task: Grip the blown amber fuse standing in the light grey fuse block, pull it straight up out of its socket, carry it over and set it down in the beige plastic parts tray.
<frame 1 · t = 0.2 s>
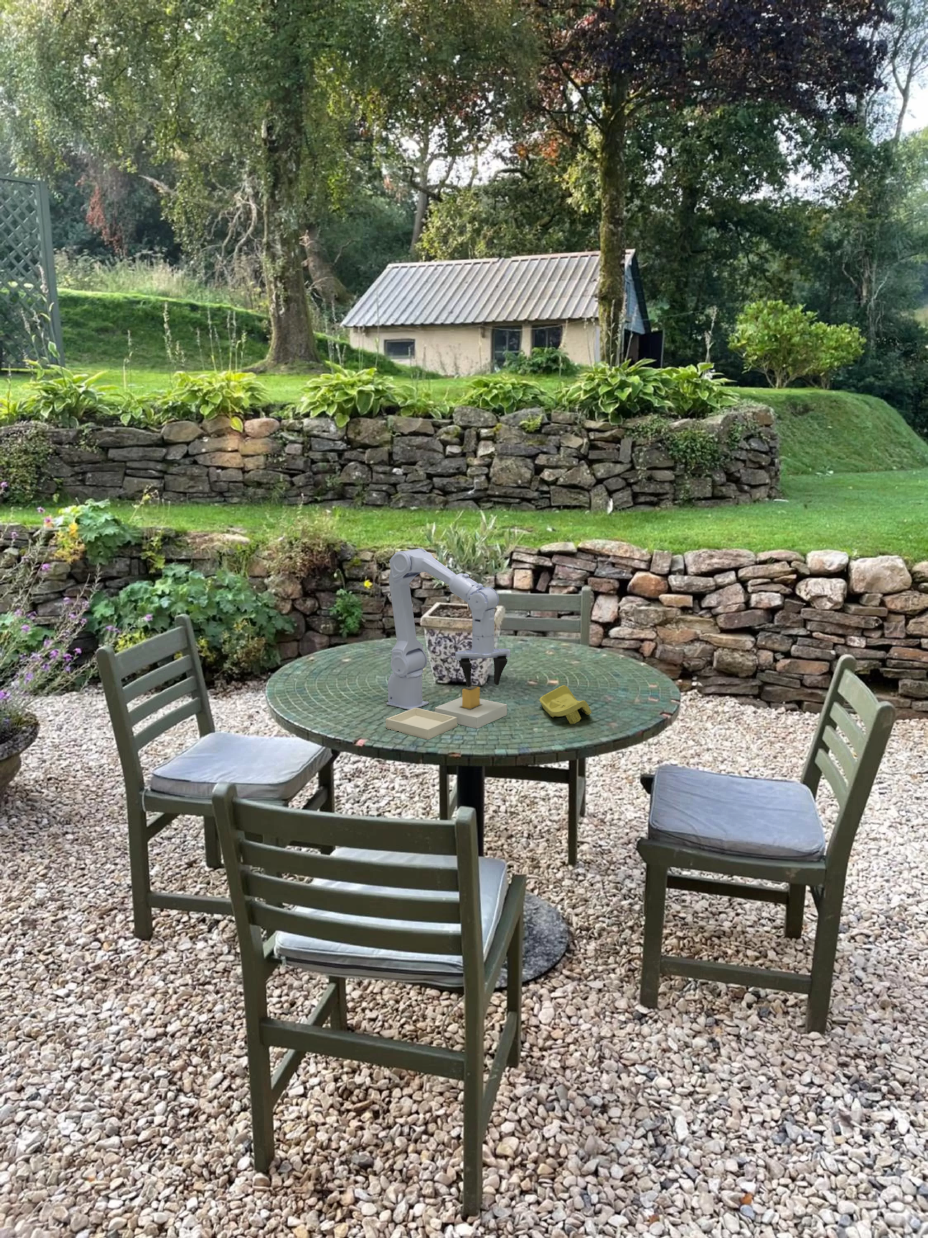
hand: (482, 684, 218), 10 cm above the table, tool pointing down, fingers open, 7 cm apart
fuse block: (471, 716, 223), on the table
fuse: (471, 702, 222), in the fuse block
plastic component: (565, 717, 224), on the table
parts tray: (421, 727, 214), on the table
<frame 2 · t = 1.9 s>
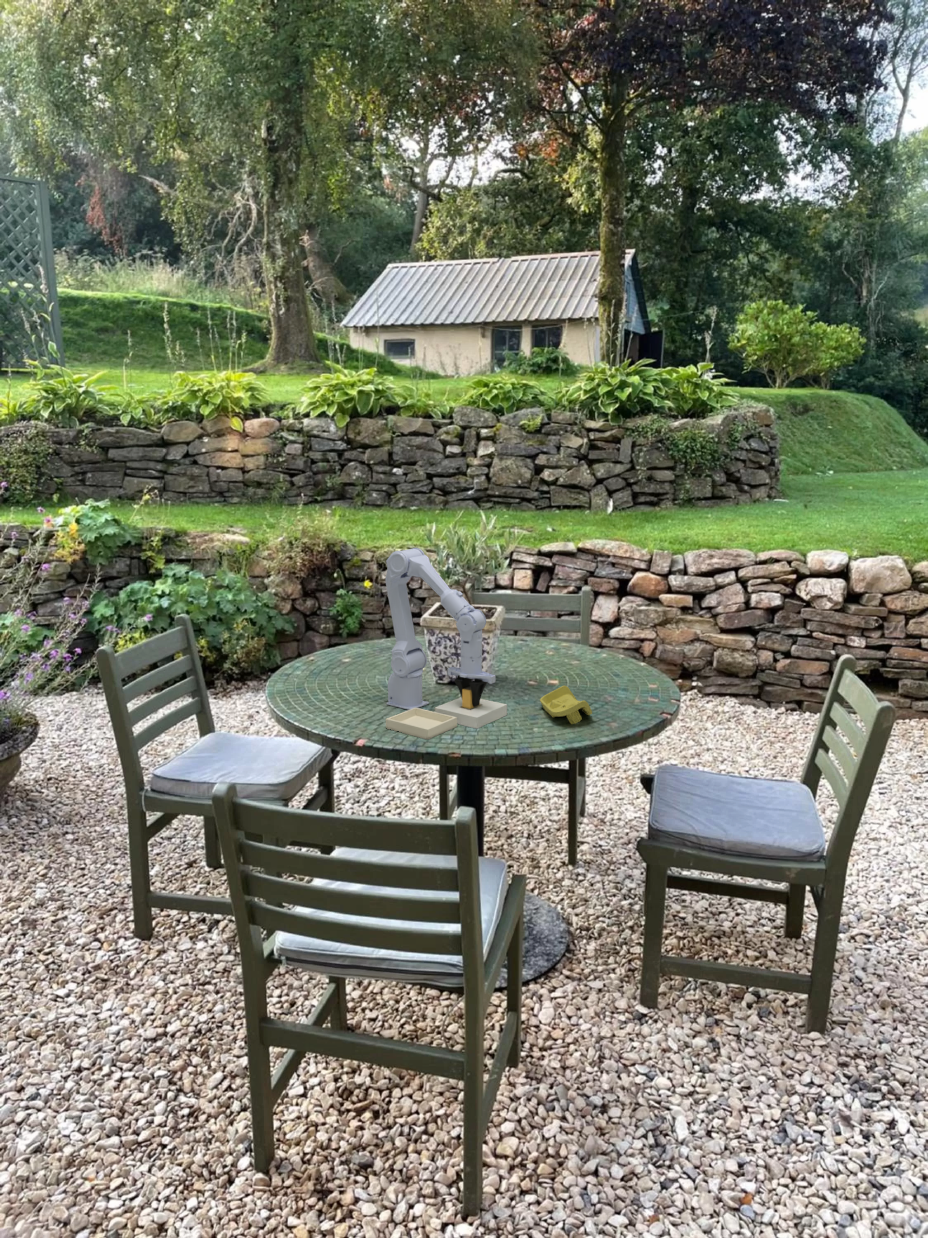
hand: (471, 704, 223), 3 cm above the table, tool pointing down, fingers closed on fuse, 3 cm apart
fuse: (471, 702, 222), in the fuse block, touching gripper
everything else where it was.
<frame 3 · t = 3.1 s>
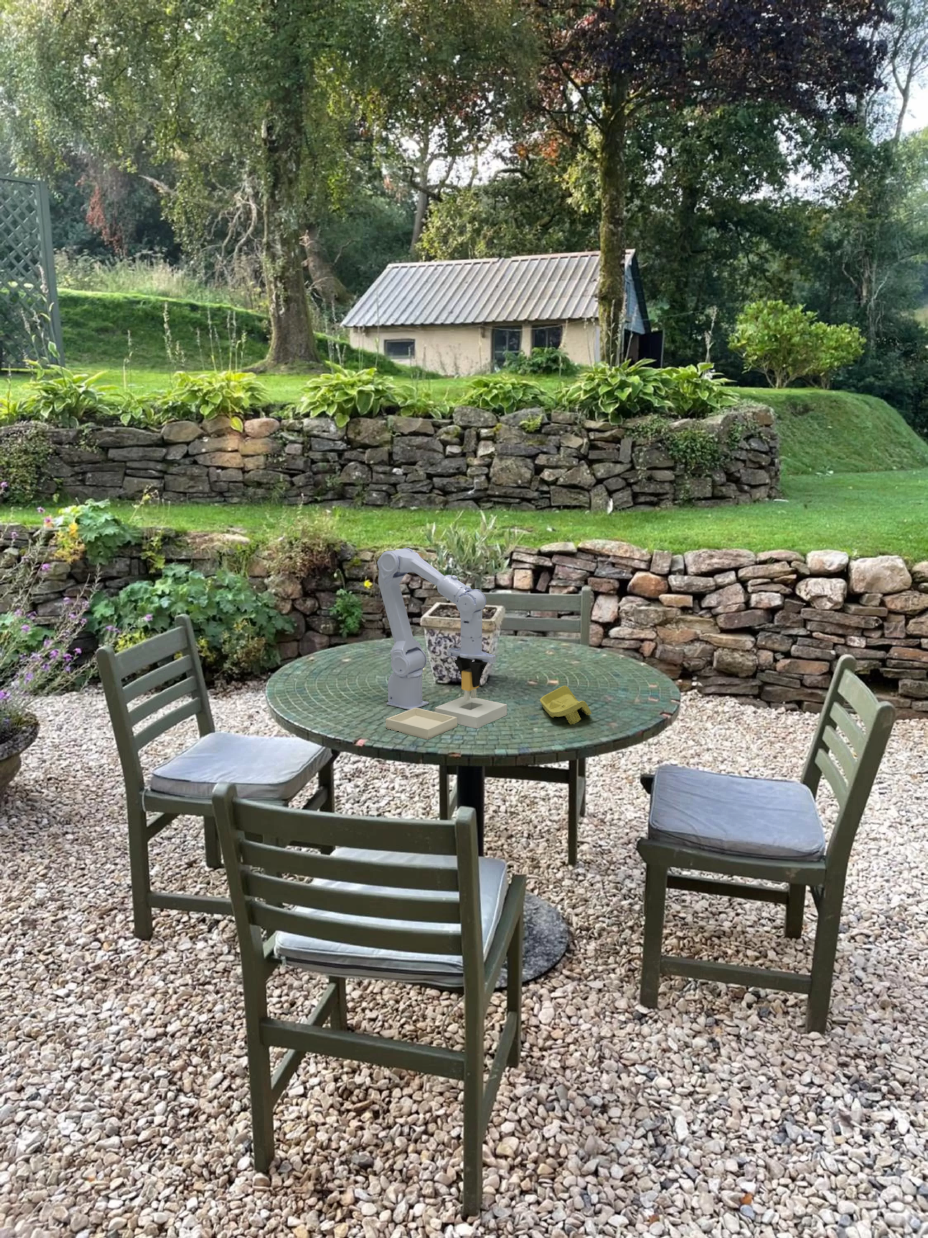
hand: (471, 685, 222), 9 cm above the table, tool pointing down, fingers closed on fuse, 3 cm apart
fuse: (470, 684, 221), point 9 cm above the table, touching gripper
everything else where it was.
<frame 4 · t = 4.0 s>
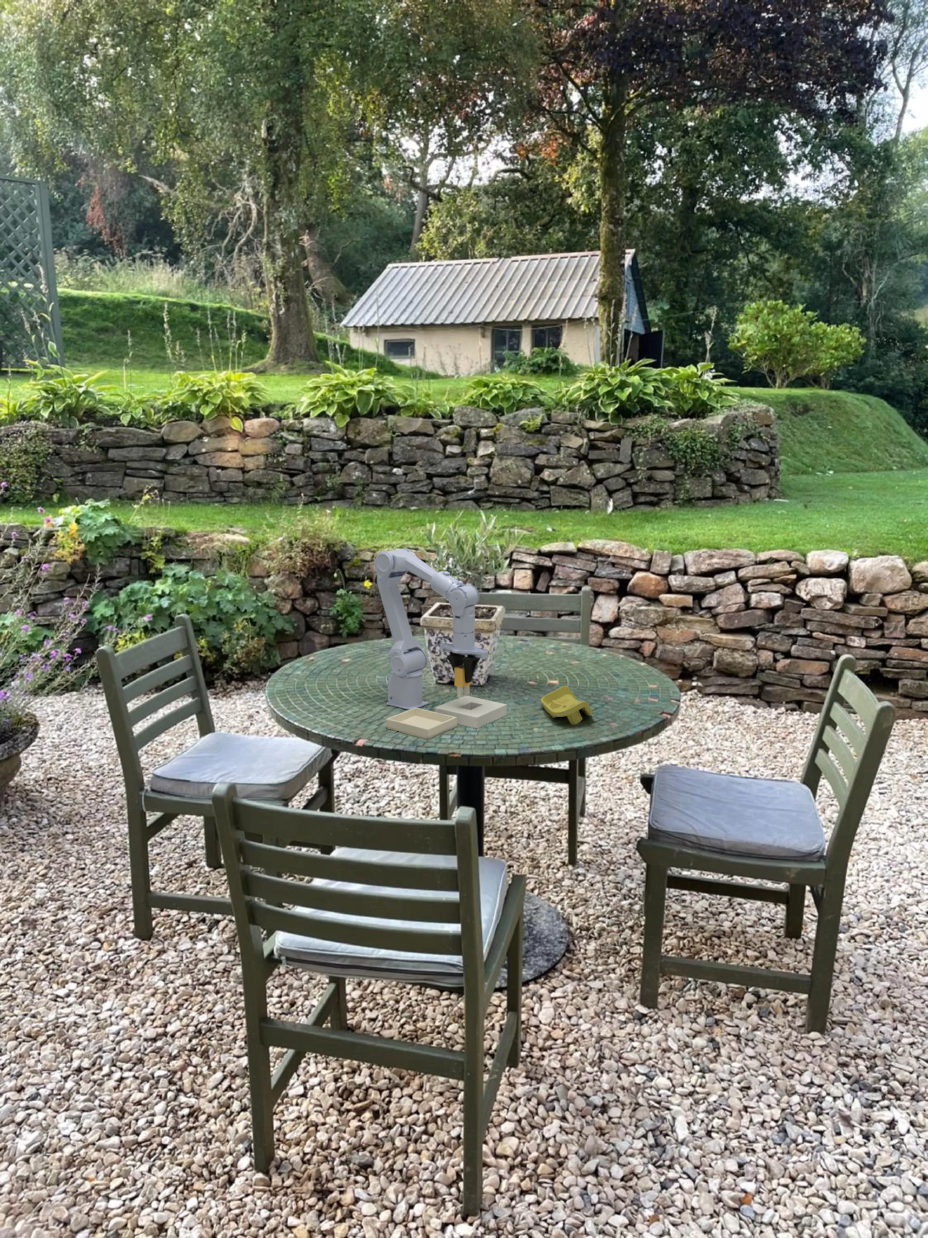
hand: (463, 681, 220), 10 cm above the table, tool pointing down, fingers closed on fuse, 3 cm apart
fuse: (463, 680, 220), point 10 cm above the table, touching gripper
everything else where it was.
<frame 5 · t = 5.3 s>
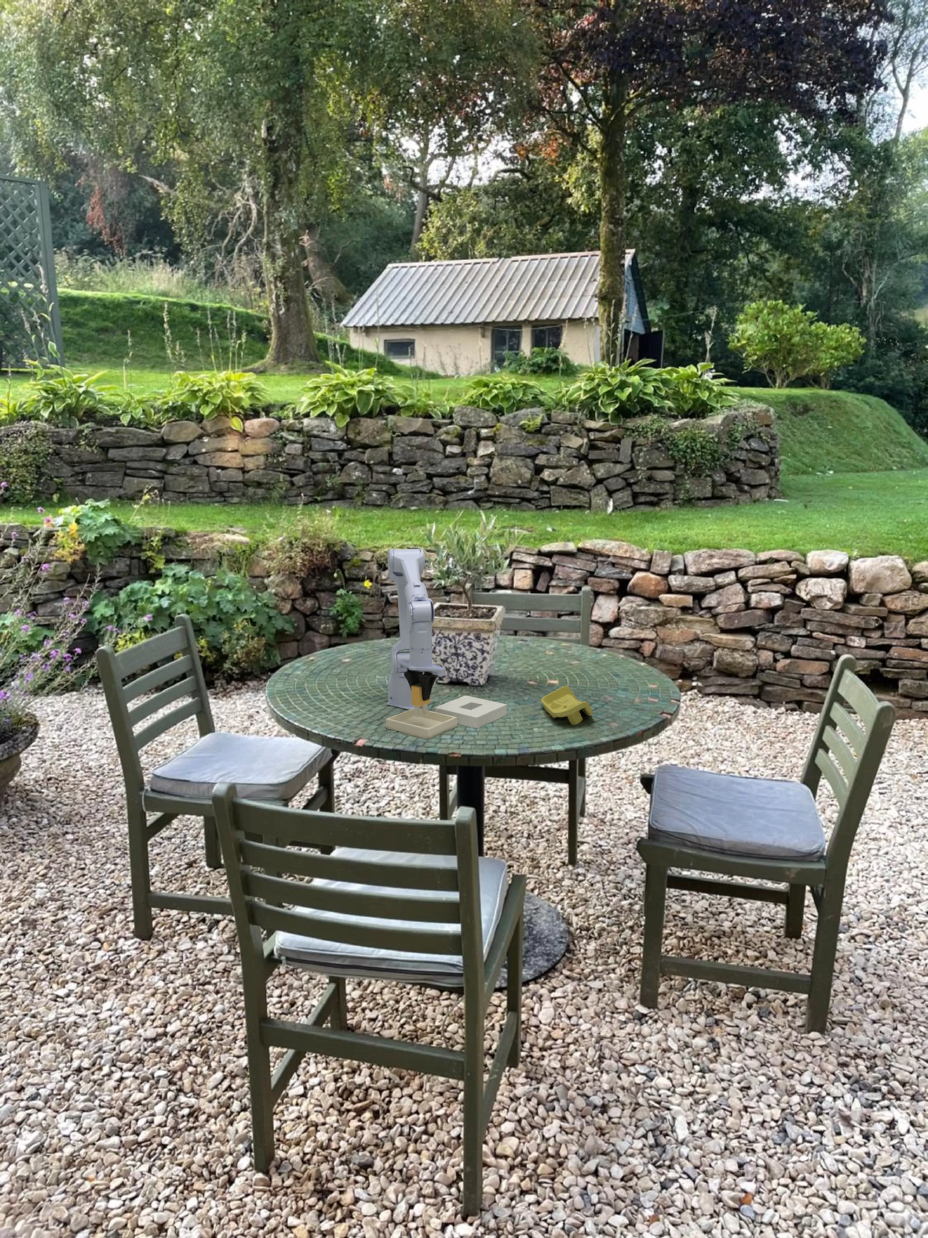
hand: (421, 698, 213), 8 cm above the table, tool pointing down, fingers closed on fuse, 3 cm apart
fuse: (420, 699, 213), point 8 cm above the table, touching gripper
everything else where it was.
when the fingers open (6 cm above the table, at t = 6.4 s): fuse stays where it is, resting on parts tray.
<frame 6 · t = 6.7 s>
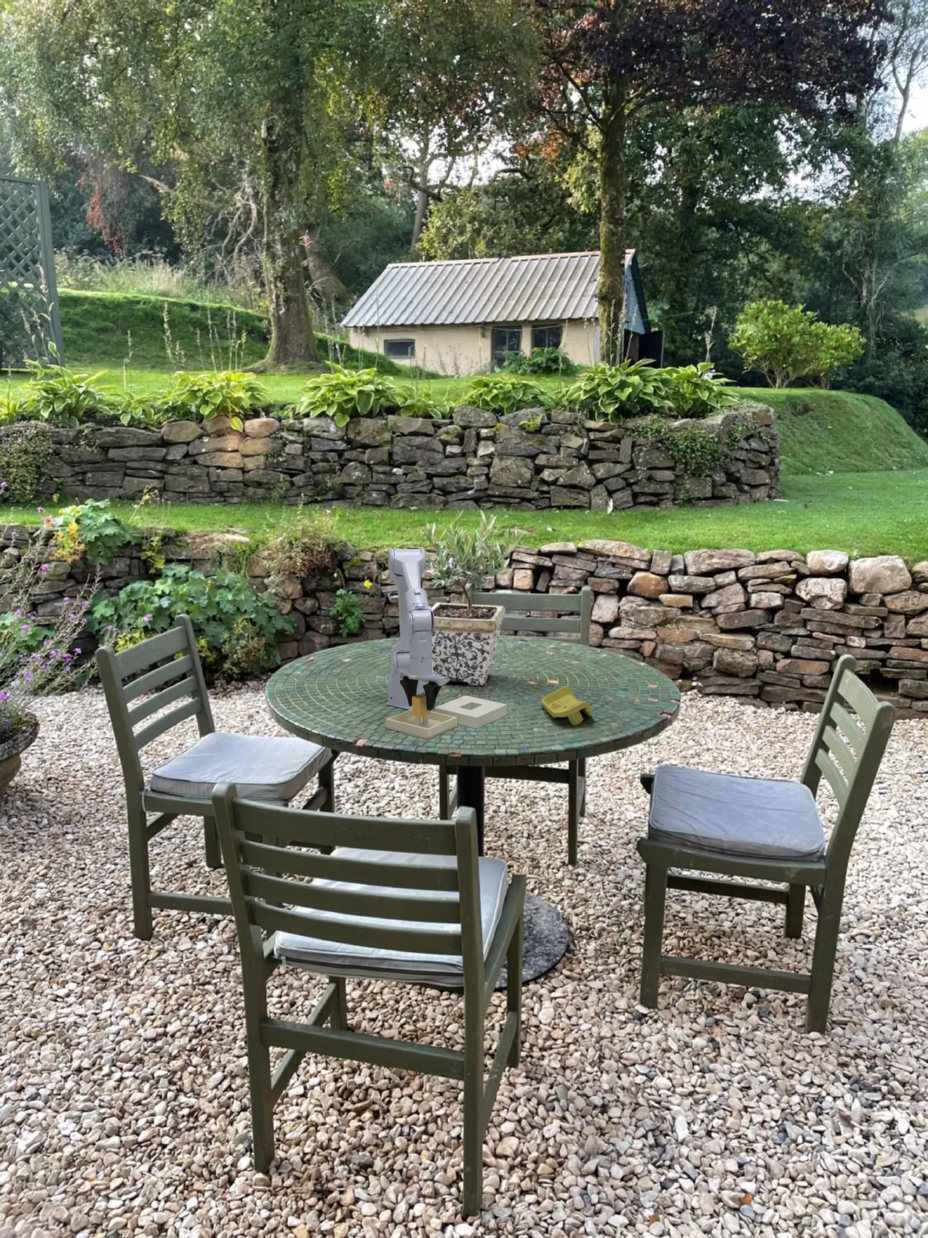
hand: (421, 707, 213), 6 cm above the table, tool pointing down, fingers open, 5 cm apart
fuse: (421, 710, 213), in the parts tray, point 5 cm above the table
everything else where it was.
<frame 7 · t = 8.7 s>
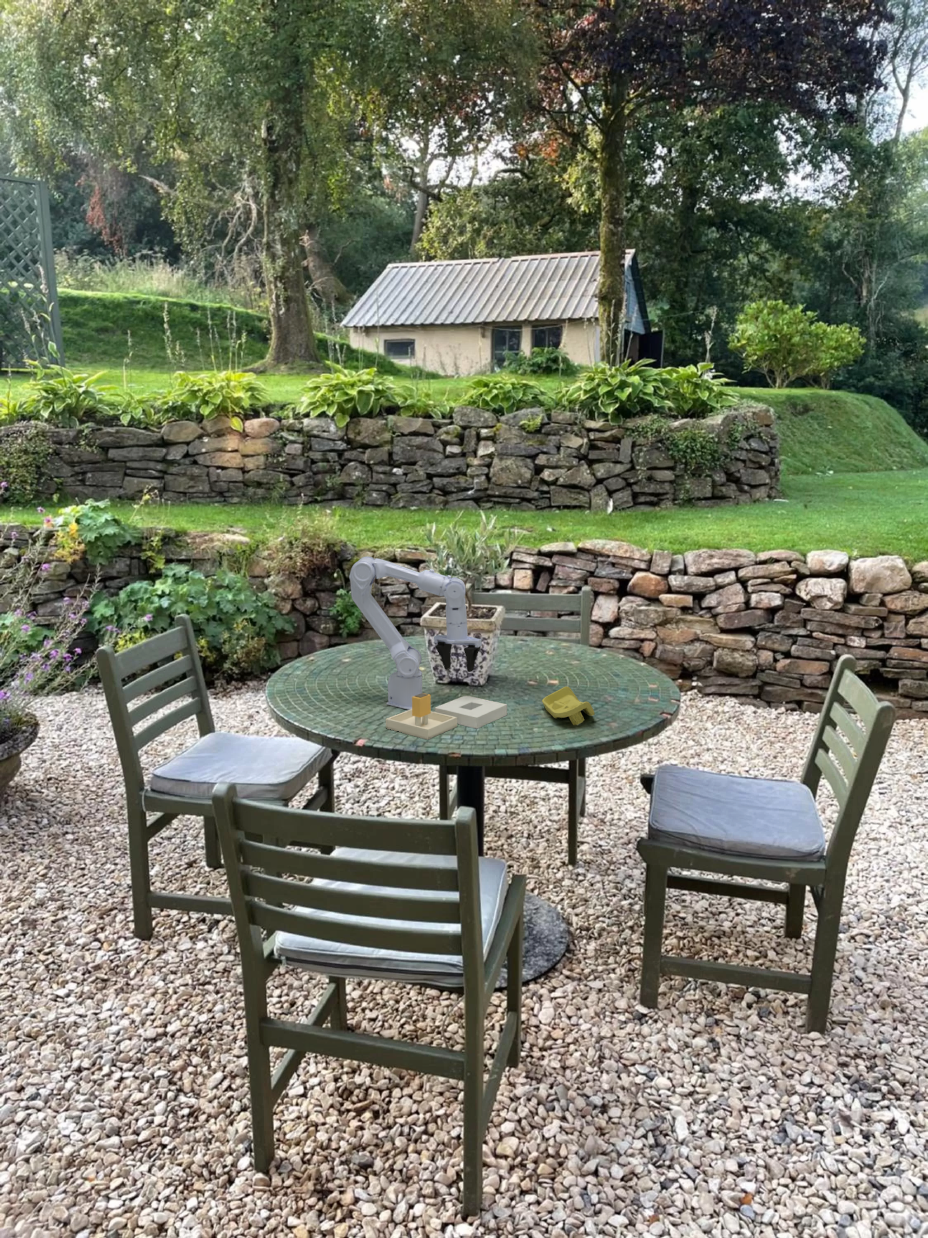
hand: (459, 669, 231), 10 cm above the table, tool pointing down, fingers open, 7 cm apart
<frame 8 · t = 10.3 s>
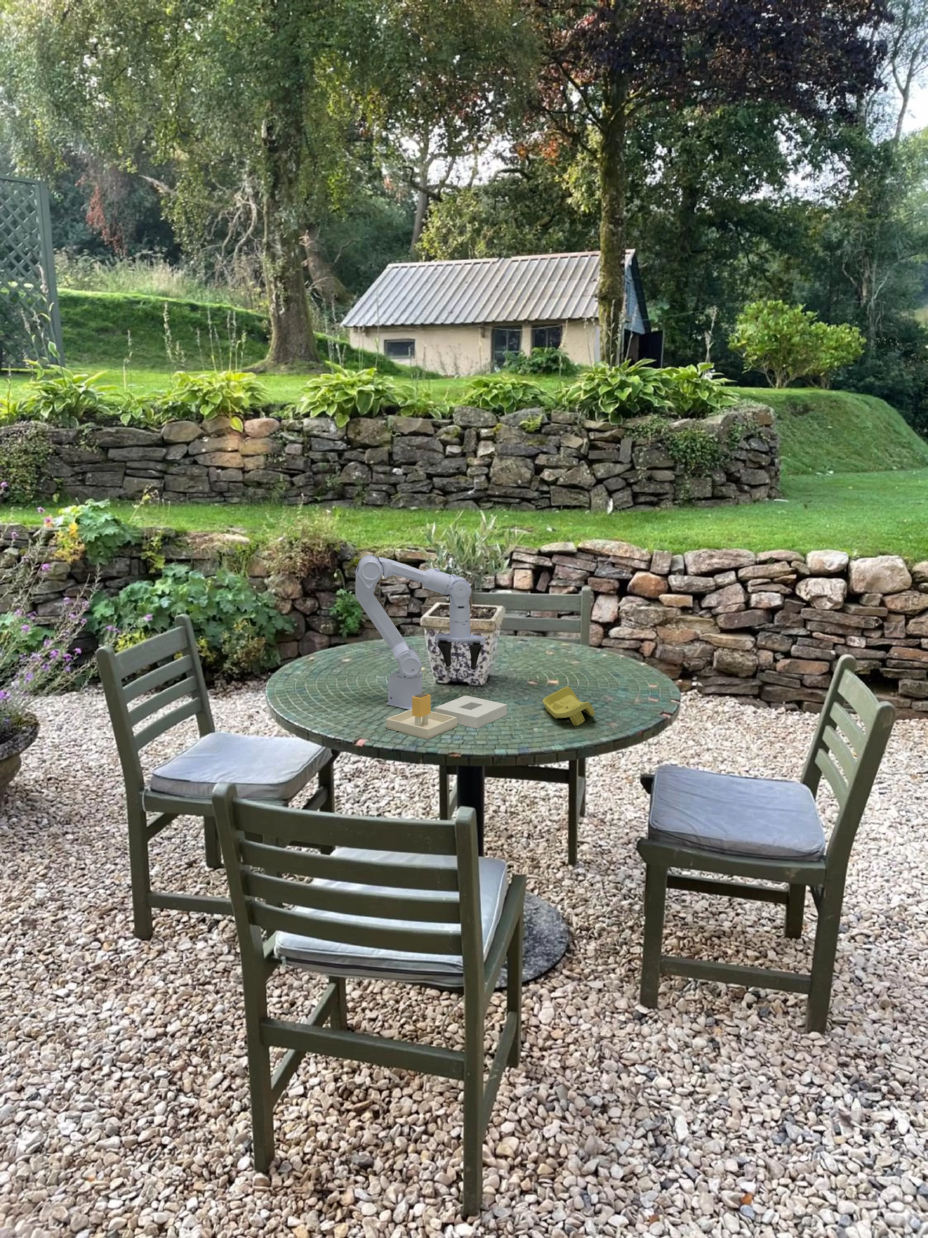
hand: (461, 667, 233), 10 cm above the table, tool pointing down, fingers open, 7 cm apart
at the end: fuse inside the target area on the parts tray (0.0 cm from its centre), point 4.7 cm above the parts tray's base; the gripper is holding nothing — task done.
